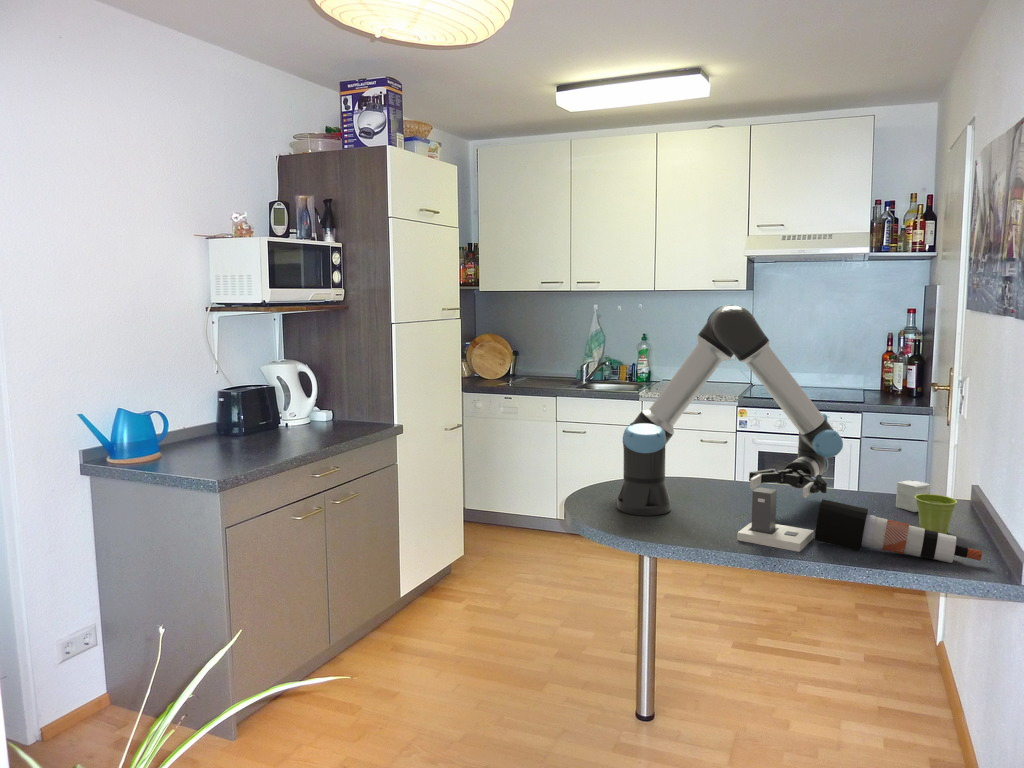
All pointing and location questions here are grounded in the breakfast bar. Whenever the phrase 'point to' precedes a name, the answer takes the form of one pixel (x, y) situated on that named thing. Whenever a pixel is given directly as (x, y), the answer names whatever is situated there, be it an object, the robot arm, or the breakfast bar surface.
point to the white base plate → (778, 537)
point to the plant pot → (935, 512)
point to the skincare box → (910, 494)
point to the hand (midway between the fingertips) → (777, 488)
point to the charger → (764, 510)
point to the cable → (884, 534)
